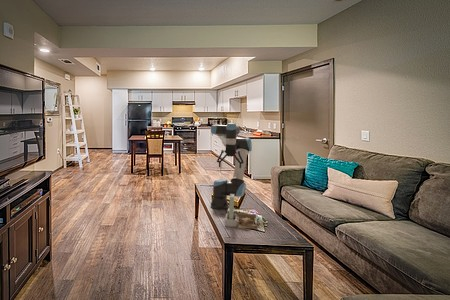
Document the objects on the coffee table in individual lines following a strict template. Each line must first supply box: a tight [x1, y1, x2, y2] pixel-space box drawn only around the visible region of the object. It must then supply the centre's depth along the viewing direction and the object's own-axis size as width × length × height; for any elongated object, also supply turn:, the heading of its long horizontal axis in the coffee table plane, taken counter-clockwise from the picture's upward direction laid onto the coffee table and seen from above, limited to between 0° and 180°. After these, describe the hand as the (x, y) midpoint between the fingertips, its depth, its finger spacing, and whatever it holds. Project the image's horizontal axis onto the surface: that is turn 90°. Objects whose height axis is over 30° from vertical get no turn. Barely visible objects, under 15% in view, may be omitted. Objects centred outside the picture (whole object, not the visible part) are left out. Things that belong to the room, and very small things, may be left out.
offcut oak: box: [241, 218, 251, 223], centre depth 236 cm, size 4×6×2 cm, turn 135°
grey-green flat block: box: [228, 194, 235, 220], centre depth 240 cm, size 3×10×20 cm, turn 178°
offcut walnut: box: [239, 220, 253, 225], centre depth 236 cm, size 4×9×2 cm, turn 122°
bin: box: [224, 213, 237, 228], centre depth 241 cm, size 14×8×5 cm, turn 177°
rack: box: [236, 212, 258, 229], centre depth 240 cm, size 14×14×6 cm
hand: (229, 172), depth 254 cm, fingers open, 13 cm apart
